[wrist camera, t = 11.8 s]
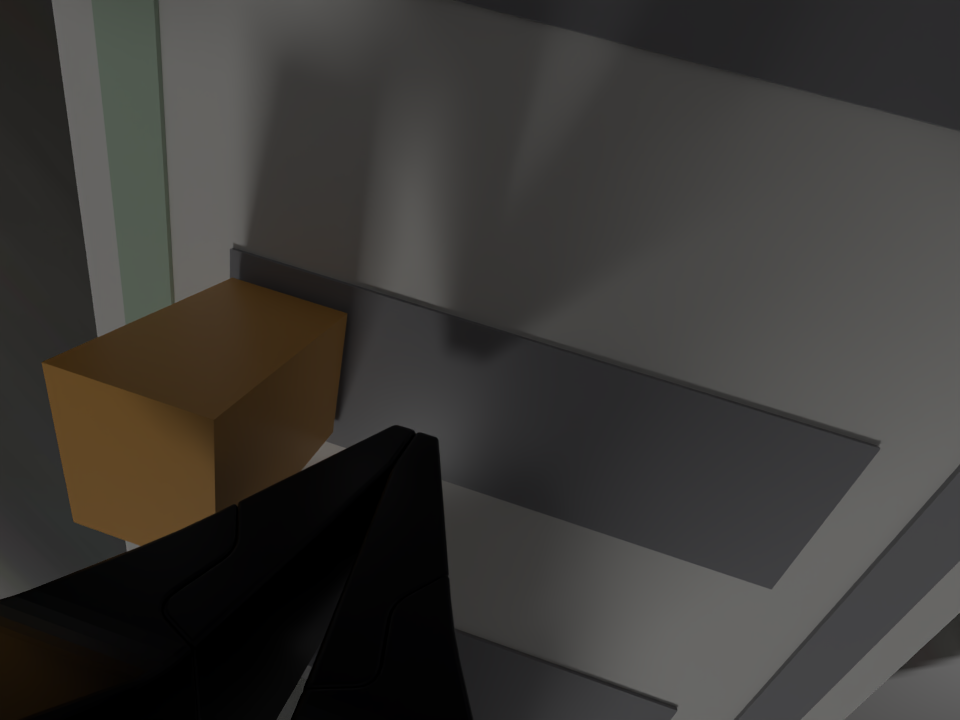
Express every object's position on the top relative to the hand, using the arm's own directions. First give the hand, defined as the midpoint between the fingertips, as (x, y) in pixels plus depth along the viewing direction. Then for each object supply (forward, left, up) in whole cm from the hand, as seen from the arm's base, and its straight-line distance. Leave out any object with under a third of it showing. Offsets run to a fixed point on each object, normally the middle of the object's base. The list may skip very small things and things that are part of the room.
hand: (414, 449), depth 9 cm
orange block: (0, +3, -2) cm, 4 cm away
